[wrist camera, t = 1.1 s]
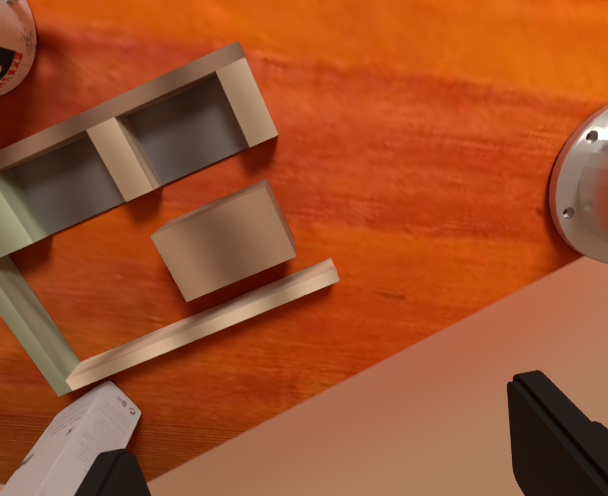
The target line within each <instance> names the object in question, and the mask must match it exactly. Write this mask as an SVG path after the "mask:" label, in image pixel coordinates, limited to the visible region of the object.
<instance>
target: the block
mask: <svg viewBox="0 0 608 496" xmlns="http://www.w3.org/2000/svg"><path fill="white" fill-rule="evenodd" d="M150 237H151V238H152V240H153V242H154V244H155V246H156V247H157V249H158V251H159V253H160V255H161V257H162V258H163V260H164V262H165V264H166V266H167V267H168V269H169V271H170V273H171V275H172V277H173V278H174V280H175V282H176V284H177V286H178V287H179V289H180V291H181V293H182V295H183V296H184V298H185V300H186V302H188V301H191V300H193V299H195V298H198V297H200V296H203V295H205V294H207V293H210V292H212V291H215V290H217V289H219V288H222V287H224V286H227V285H229V284H231V283H234V282H236V281H239V280H241V279H244V278H246V277H248V276H251V275H253V274H256V273H258V272H260V271H263V270H265V269H268V268H270V267H272V266H275V265H277V264H280V263H282V262H284V261H287V260H289V259H292V258H294V257H296V250H295V241H294V238H293V235H292V233H291V231H290V229H289V226H288V224H287V222H286V220H285V217H284V215H283V213H282V210H281V208H280V206H279V204H278V201H277V199H276V197H275V195H274V192H273V190H272V188H271V186H270V183H269V181H268V179H264V180H262V181H260V182H257V183H255V184H253V185H250V186H248V187H246V188H243V189H241V190H239V191H236V192H234V193H232V194H230V195H227V196H225V197H223V198H220V199H218V200H216V201H213V202H211V203H209V204H206V205H204V206H202V207H199V208H197V209H195V210H192V211H190V212H188V213H185V214H183V215H181V216H178V217H176V218H174V219H171V220H169V221H167V222H166V223H165V224H164V225H163V226H161V227H160V228H159V229H158V230H157V231H156V232H154V233H153V234H152V235H151V236H150Z"/></svg>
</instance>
